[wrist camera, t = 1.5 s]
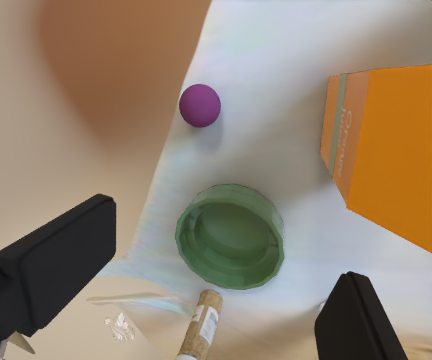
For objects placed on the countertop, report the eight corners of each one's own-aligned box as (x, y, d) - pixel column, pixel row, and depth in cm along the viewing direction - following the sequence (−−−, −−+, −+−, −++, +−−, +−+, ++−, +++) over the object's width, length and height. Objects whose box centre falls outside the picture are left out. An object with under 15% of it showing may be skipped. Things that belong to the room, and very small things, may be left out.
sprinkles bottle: (198, 287, 43) (166, 365, 31) (221, 290, 42) (196, 372, 30) (203, 305, 45) (173, 386, 33) (225, 308, 43) (203, 393, 31)
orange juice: (411, 71, 23) (825, 26, 5) (391, 155, 26) (608, 299, 9) (326, 76, 25) (426, 57, 8) (318, 153, 29) (372, 267, 11)
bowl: (196, 169, 34) (183, 182, 30) (299, 201, 32) (301, 221, 27) (182, 247, 41) (169, 267, 36) (266, 278, 38) (263, 303, 34)
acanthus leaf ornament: (121, 311, 53) (116, 318, 52) (140, 331, 54) (136, 339, 53) (103, 318, 56) (98, 325, 55) (121, 337, 57) (116, 345, 56)
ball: (191, 80, 29) (175, 79, 25) (228, 89, 29) (218, 90, 24) (185, 118, 32) (169, 124, 27) (220, 128, 31) (209, 135, 26)
